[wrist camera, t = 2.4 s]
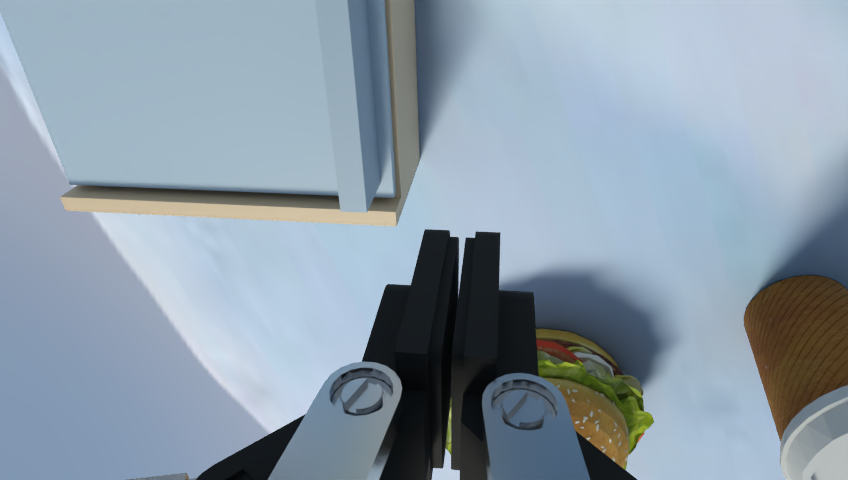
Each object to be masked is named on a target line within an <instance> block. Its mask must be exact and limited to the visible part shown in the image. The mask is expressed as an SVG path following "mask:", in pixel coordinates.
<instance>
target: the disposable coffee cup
mask: <svg viewBox="0 0 848 480" xmlns="http://www.w3.org/2000/svg"><path fill="white" fill-rule="evenodd" d="M744 327H745V330H746V333H747V336H748V339H749V342H750V345H751V348H752V351H753V354H754V358H755V361H756V364H757V367H758V371H759V374H760V377H761V380H762V383H763V387H764V390H765V393H766V396H767V399H768V403H769V406H770V409H771V412H772V415H773V418H774V422H775V425H776V429H777V432H778V435H779V438H780V441H781V447H780V452H781V453H780V464H781V468H782V472H783V475H784V477H785V478H786V480H848V290H847V289H846V288H845V287H844V286H843V285H842V284H840V283H838V282H837V281H835V280H832V279H830V278H827V277H822V276H815V275H804V276H797V277H791V278H788V279H784V280H781V281H779V282H776V283H774V284H772V285H770V286H769V287H767V288H765V289H764V290H762V291H761V292H760V293H758V294H757V295H756V297H755V298H754V299H753V300H752V301H751V302H750V304H749V305H748V307H747V309H746V312H745V315H744Z"/></svg>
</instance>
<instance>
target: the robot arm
mask: <svg viewBox="0 0 848 480" xmlns="http://www.w3.org/2000/svg"><path fill="white" fill-rule="evenodd" d="M499 261H500V233H495V232H476V235H475V238H466V241H465V249H464V257H463V265H462V273H461V282H460V290H459V298H458V271H459V238H458V237H450V232H449V230H425V231H424V235H423V239H422V243H421V247H420V251H419V255H418V259H417V263H416V267H415V271H414V275H413V279H412V283H411V285H394V284H388V285H386V288H385V290H384V293H383V296H382V299H381V303H380V306H379V309H378V312H377V315H376V319H375V322H374V325H373V328H372V331H371V335H370V338H369V341H368V344H367V347H366V350H365V354H364V357H363V360H362V362H358V363H352V364H349V365H347V366H344V367H342V368H340V369H338V370H337V371H335V372H334V373H333V374H331V375H330V376H329V378H328V379H327V380H326V381H325V383H324V384H323V386H322V387H321V389H320V391H319V393H318V394H317V396H316V398H315V399H314V401H313V403H312V405H311V406H310V408H309V410H308V411H307V413H306V414H305V415H304V416H302V417H300V418H298V419H296V420H294V421H293V422H291V423H289V424H287V425H285V426H284V427H282V428H280V429H278V430H276V431H275V432H273V433H271V434H269V435H267V436H265V437H264V438H262V439H260V440H259V441H256V442H255V443H253V444H251V445H249V446H248V447H246V448H244V449H242V450H240V451H238V452H236V453H235V454H233V455H231V456H229V457H227V458H226V459H224V460H222V461H220V462H218V463H217V464H215V465H213V466H212V467H210V468H209V469H207V470H206V471H204V472H203V473H202V474H201V475H200V476H199V477H198V478H194V479H189V477H188V475H187V473H181V474H172V475H164V476H155V477H146V478H137V479H129V480H431V479H432V471H433V468H443V464H444V456H445V447H446V438H447V430H448V421H449V412H450V403H451V469H453V470H460V480H637V479H636V478H634V477H633V476H632V475H631V474H629V473H628V472H627V471H626V470H624V469H623V468H622V467H621V466H619V465H618V464H617V463H616V462H614V461H613V460H612V459H611V458H609V457H608V456H607V455H606V454H604V453H603V452H602V451H601V450H599V449H598V448H597V447H596V446H594V445H593V444H592V443H591V442H589V441H588V440H587V439H585V438H584V437H583V436H582V435H580V434H579V433H578V432H577V431H575V429H574V425H573V422H572V419H571V416H570V413H569V409H568V406H567V403H566V401H565V399H564V397H563V395H562V393H561V392H560V391H559V390H558V389H557V388H556V387H555V386H554V385H553V384H552V383H550V382H549V381H547V380H545V379H543V378H542V377H539V373H538V357H537V342H536V326H535V310H534V296H533V292H519V291H501V290H499Z"/></svg>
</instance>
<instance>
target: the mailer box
mask: <svg viewBox="0 0 848 480" xmlns="http://www.w3.org/2000/svg"><path fill="white" fill-rule="evenodd" d="M385 16H386V33H387V50H388V67H389V84H390V101H391V118H392V135H393V151H394V168H395V185H396V193H395V196H394V198H383V197H374V198H373V201H372V203H371V205H370V207H369V209H368V212H367V213H362V212H341V211H340V203H339V196H335V195H311V194H287V193H263V192H238V191H214V190H190V189H166V188H142V187H118V186H94V185H77V186H76V187H74V188H73V189H71V190H70V191H69V192H67V193H66V194H64V195H63V196H61V197H60V198H61V200H62V203H63V205H64V207H65V210H69V211H89V212H110V213H131V214H152V215H172V216H193V217H214V218H235V219H256V220H276V221H297V222H318V223H339V224H359V225H380V226H397V223H398V221H399V218H400V215H401V212H402V209H403V206H404V204H405V201H406V198H407V195H408V192H409V189H410V187H411V184H412V181H413V178H414V175H415V172H416V170H417V167H418V164H419V161H420V152H419V121H418V91H417V60H416V30H415V0H385Z"/></svg>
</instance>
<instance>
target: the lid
mask: <svg viewBox="0 0 848 480" xmlns="http://www.w3.org/2000/svg"><path fill="white" fill-rule="evenodd" d="M0 12H1V15H2V17H3V20H4V22H5V25H6V27H7V29H8V32H9V34H10V37H11V39H12V42H13V44H14V47H15V49H16V52H17V54H18V57H19V59H20V62H21V64H22V67H23V69H24V72H25V74H26V77H27V79H28V82H29V84H30V87H31V89H32V92H33V94H34V97H35V99H36V102H37V104H38V107H39V109H40V112H41V114H42V117H43V119H44V122H45V124H46V127H47V129H48V131H49V134H50V136H51V139H52V141H53V144H54V146H55V149H56V151H57V154H58V156H59V159H60V161H61V164H62V166H63V169H64V171H65V174H66V176H67V179H68V181H69V184H70V185H94V186H118V187H142V188H166V189H190V190H214V191H238V192H263V193H287V194H311V195H335V196H339V203H340V211H341V212H362V213H367V212H368V209H369V207H370V205H371V203H372V201H373V198H374V197H383V198H394V196H395V193H396V185H395V168H394V151H393V135H392V118H391V101H390V84H389V67H388V50H387V33H386V16H385V0H0Z"/></svg>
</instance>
